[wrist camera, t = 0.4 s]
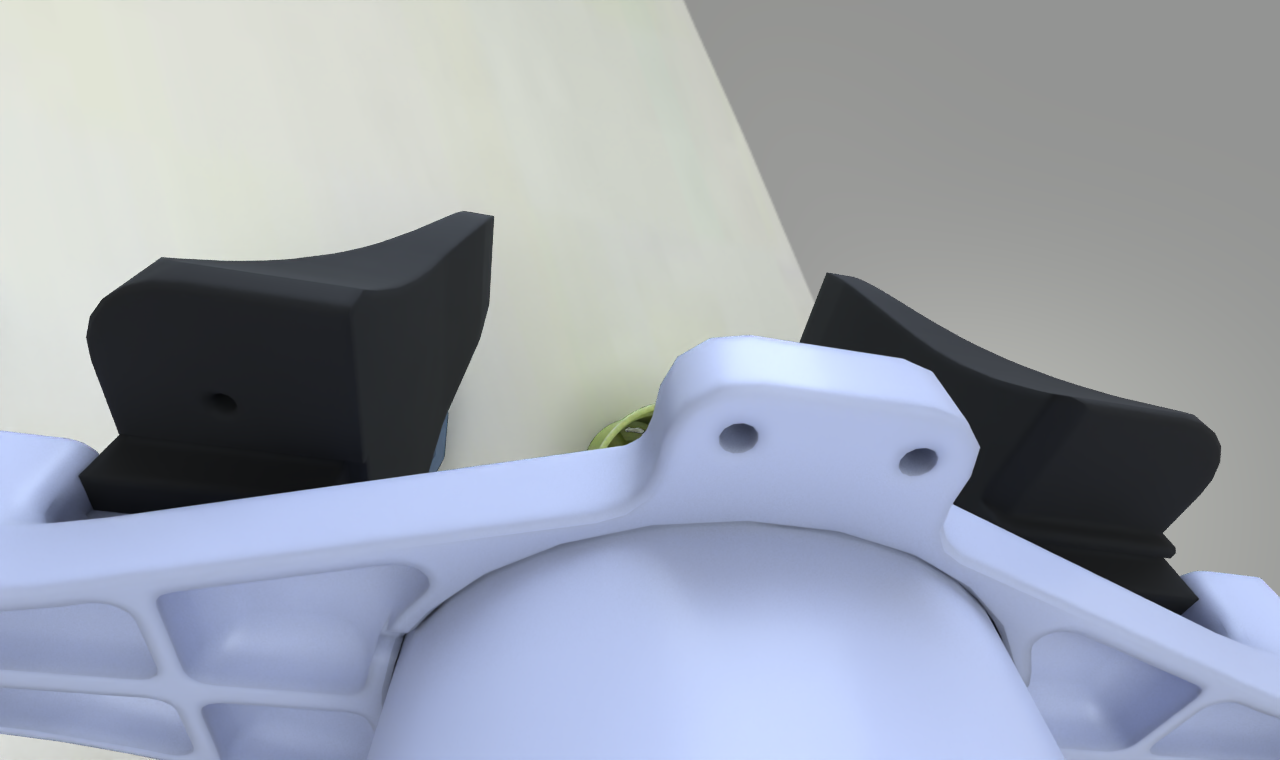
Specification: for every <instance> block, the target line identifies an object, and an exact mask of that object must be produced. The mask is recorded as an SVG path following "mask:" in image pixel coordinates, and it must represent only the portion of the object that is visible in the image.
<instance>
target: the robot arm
mask: <svg viewBox="0 0 1280 760" xmlns="http://www.w3.org/2000/svg"><path fill="white" fill-rule="evenodd" d="M493 227H494V216H490V215H484V214H478V213H473V212H467V211H462V212H458V213H455V214H452V215H450V216H447V217H445V218H443V219H440V220H438V221H436V222H433V223H431V224H429V225H426V226H424V227H421V228H419V229H417V230H414V231H412V232H409V233H406V234H403V235H401V236H398V237H395V238H392V239H389V240H386V241H384V242H381V243H377V244H374V245H370V246H367V247H363V248H359V249H354V250H350V251H345V252H340V253H335V254H328V255H320V256H312V257H304V258H297V259H285V260H267V261H217V260H197V259H177V258H165V257H161V258H160V259H158V260H157V261H156V262H154V263H153V264H151V265H150V266H148V267H147V268H146V269H144V270H143V271H141V272H140V273H138V274H137V275H136V276H134V277H133V278H131V279H130V280H129V281H127V282H126V283H124V284H123V285H121V286H120V287H119V288H117V289H116V290H114V291H113V292H111V293H110V294H109V295H107V296H106V297H104V298H103V299H102V300H101V301H100V303H99V304H98V306H97V307H96V308H95V310H94V311H93V313H92V314H91V316H90V319H89V324H88V330H87V336H86V338H87V343H88V348H89V353H90V358H91V361H92V364H93V366H94V369H95V372H96V374H97V377H98V380H99V382H100V385H101V388H102V390H103V393H104V396H105V398H106V401H107V404H108V406H109V409H110V411H111V414H112V417H113V419H114V422H115V425H116V427H117V430H118V433H119V434H120V435H119V436H118V437H117V438H116V439H115V440H114V441H113V442H112V443H111V444H110V445H109V446H108V447H107V448H106V449H105V450H104V451H103V452H102V453H101V454H100V455H99V454H98V452H97V451H96V450H94V449H93V448H91V447H90V446H88V445H86V444H85V443H83V442H79V441H76V440H72V439H68V438H59V437H51V436H42V435H34V434H25V433H16V432H8V431H0V734H7V735H15V736H22V737H30V738H38V739H45V740H53V741H60V742H66V743H72V744H78V745H83V746H89V747H95V748H100V749H106V750H112V751H117V752H123V753H129V754H134V755H139V756H144V757H149V758H154V759H159V760H1280V597H1279V596H1278V595H1277V594H1276V593H1275V592H1274V591H1273V590H1272V589H1271V588H1270V587H1269V586H1268V585H1267V584H1266V583H1265V582H1264V581H1263V580H1262V579H1261V578H1259V577H1251V576H1243V575H1235V574H1226V573H1217V572H1209V571H1194V572H1190V573H1187V574H1185V575H1182V576H1179V575H1178V574H1177V573H1176V572H1175V570H1174V569H1173V568H1172V567H1171V566H1170V565H1169V564H1168V562H1167V561H1166V560H1165V559H1164V558H1171V557H1172V556H1173V555H1174V554H1175V553H1176V550H1175V547H1174V545H1173V544H1172V543H1171V542H1170V541H1169V540H1168V539H1167V538H1166V536H1165V535H1164V534H1163V532H1164V531H1165V530H1166V529H1167V528H1168V527H1169V526H1170V525H1171V524H1172V523H1173V522H1174V521H1175V520H1176V519H1177V518H1178V517H1179V516H1180V515H1181V514H1182V513H1183V512H1184V511H1185V510H1186V509H1187V507H1189V506H1190V505H1191V503H1192V502H1194V500H1196V499H1197V497H1198V496H1199V495H1200V494H1201V493H1202V492H1203V491H1204V489H1205V488H1206V487H1207V486H1208V484H1209V483H1210V482H1211V481H1212V479H1213V477H1214V475H1215V472H1216V470H1217V468H1218V465H1219V463H1220V455H1221V445H1220V443H1219V441H1218V439H1217V436H1216V435H1215V433H1214V432H1213V431H1212V430H1211V429H1210V428H1208V427H1207V426H1206V425H1205V424H1204V423H1203V422H1201V421H1200V420H1199V419H1198V418H1197V417H1196V416H1195V415H1192V414H1188V413H1185V412H1181V411H1177V410H1172V409H1168V408H1164V407H1159V406H1155V405H1151V404H1146V403H1142V402H1137V401H1133V400H1128V399H1124V398H1120V397H1117V396H1113V395H1109V394H1105V393H1102V392H1099V391H1096V390H1092V389H1089V388H1085V387H1082V386H1078V385H1075V384H1072V383H1069V382H1066V381H1063V380H1060V379H1057V378H1054V377H1051V376H1049V375H1046V374H1043V373H1041V372H1038V371H1035V370H1033V369H1030V368H1027V367H1024V366H1022V365H1019V364H1017V363H1015V362H1012V361H1010V360H1007V359H1005V358H1003V357H1001V356H998V355H996V354H994V353H992V352H990V351H988V350H985V349H983V348H981V347H979V346H977V345H975V344H973V343H971V342H969V341H967V340H965V339H963V338H961V337H959V336H957V335H956V334H954V333H952V332H950V331H949V330H947V329H945V328H943V327H941V326H940V325H938V324H936V323H934V322H932V321H931V320H929V319H928V318H926V317H924V316H923V315H921V314H919V313H917V312H916V311H914V310H913V309H911V308H910V307H908V306H906V305H905V304H903V303H901V302H900V301H898V300H897V299H895V298H893V297H891V296H890V295H888V294H886V293H885V292H883V291H881V290H880V289H878V288H876V287H875V286H873V285H871V284H869V283H867V282H865V281H862V280H860V279H858V278H855V277H850V276H844V275H839V274H833V273H826V276H825V279H824V281H823V284H822V286H821V289H820V291H819V294H818V296H817V299H816V301H815V304H814V307H813V309H812V312H811V314H810V317H809V319H808V322H807V324H806V327H805V330H804V332H803V335H802V337H801V340H800V342H799V343H798V342H791V341H785V340H778V339H772V338H765V337H759V336H752V335H744V336H730V337H717V338H710V339H708V340H706V341H704V342H703V343H701V344H699V345H697V346H696V347H694V348H692V349H690V350H689V351H687V352H685V353H683V354H682V355H680V356H678V357H677V358H676V360H675V362H674V363H673V365H672V367H671V368H670V370H669V372H668V373H667V375H666V376H665V378H664V380H663V381H662V383H661V385H660V388H659V392H658V396H657V400H656V404H655V408H654V412H653V416H652V418H651V421H650V423H649V425H648V428H647V430H646V431H645V432H644V433H643V435H642V436H641V437H640V438H639V439H637V440H635V441H633V442H631V443H629V444H627V445H624V446H617V447H610V448H603V449H595V450H588V451H581V452H574V453H567V454H560V455H552V456H545V457H538V458H531V459H524V460H517V461H509V462H502V463H495V464H488V465H481V466H473V467H466V468H459V469H452V470H445V471H438V472H430V473H429V469H430V466H431V462H432V459H433V455H434V452H435V449H436V445H437V442H438V439H439V435H440V432H441V429H442V425H443V423H444V420H445V418H446V415H447V412H448V410H449V407H450V405H451V403H452V401H453V399H454V396H455V394H456V392H457V390H458V387H459V385H460V383H461V381H462V378H463V376H464V374H465V372H466V370H467V367H468V365H469V363H470V361H471V358H472V356H473V354H474V351H475V349H476V347H477V345H478V342H479V340H480V337H481V333H482V330H483V326H484V322H485V318H486V314H487V311H488V307H489V299H490V281H491V263H492V245H493Z"/></svg>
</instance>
